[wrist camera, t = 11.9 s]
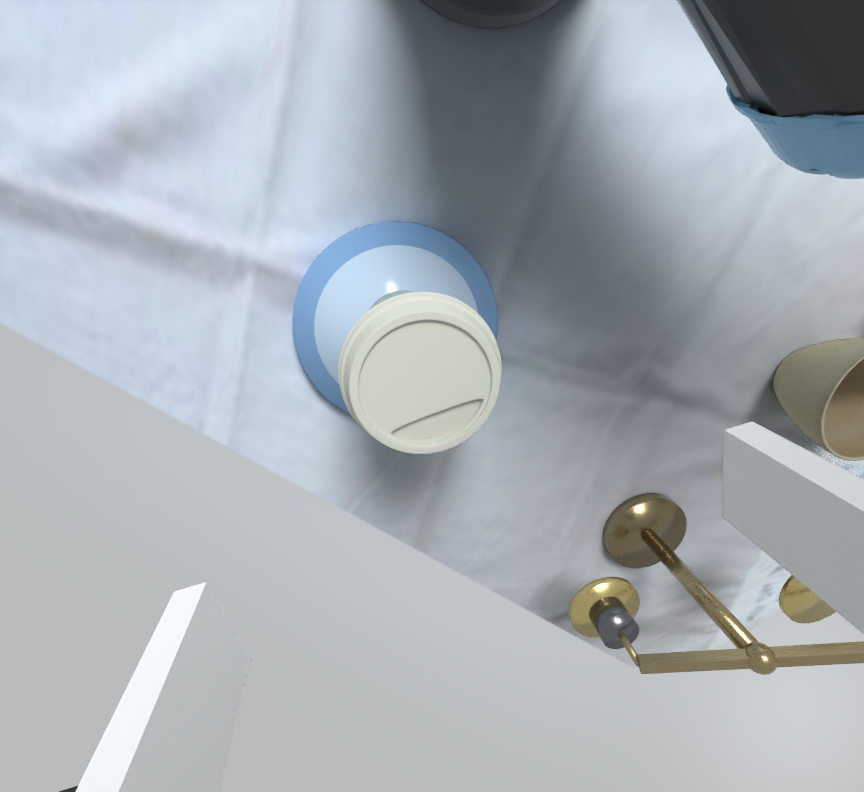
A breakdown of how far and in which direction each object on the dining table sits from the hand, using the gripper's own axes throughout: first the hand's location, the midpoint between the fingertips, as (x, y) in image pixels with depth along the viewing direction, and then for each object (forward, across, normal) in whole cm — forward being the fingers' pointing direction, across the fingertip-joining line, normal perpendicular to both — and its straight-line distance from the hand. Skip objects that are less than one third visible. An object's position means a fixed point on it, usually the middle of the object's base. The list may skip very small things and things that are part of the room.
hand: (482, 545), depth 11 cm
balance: (+25, +18, -26) cm, 40 cm away
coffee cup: (+24, 0, 0) cm, 24 cm away
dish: (+25, 0, 0) cm, 25 cm away
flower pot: (+25, +34, -14) cm, 44 cm away
